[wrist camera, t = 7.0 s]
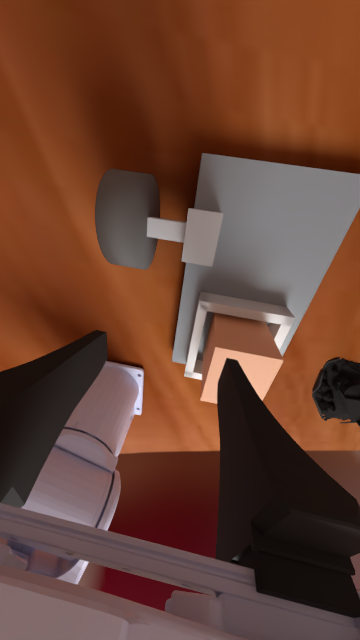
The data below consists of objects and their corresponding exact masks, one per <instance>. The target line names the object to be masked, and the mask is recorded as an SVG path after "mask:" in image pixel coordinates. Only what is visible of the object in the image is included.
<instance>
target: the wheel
mask: <svg viewBox="0 0 360 640" xmlns="http://www.w3.org/2000/svg"><path fill="white" fill-rule="evenodd" d="M186 223H187V222H182V221H176V220H170V219H163V218H160V200H159V191H158V185H157V182H156V179H155V177H154V176H153V175H152V174H146V173H140V172H133V171H126V170H119V169H109V170H108V171H107V172H106V173H105V174H104V175H103V177H102V179H101V181H100V184H99V187H98V191H97V196H96V205H95V224H96V232H97V238H98V242H99V246H100V249H101V251H102V253H103V255H104V257H105V258H106V260H107V261H108V262H109V263H111V264H115V265H121V266H127V267H132V268H138V269H144V270H145V269H147V268H148V267H149V266H150V264H151V262H152V260H153V257H154V254H155V250H156V246H157V241H158V239H164V240H171V241H177V242H183V243H184V238H185V230H186Z"/></svg>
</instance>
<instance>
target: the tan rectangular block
mask: <svg viewBox="0 0 360 640" xmlns="http://www.w3.org/2000/svg"><path fill="white" fill-rule="evenodd" d="M226 358H230V359H235V360H238V362H239V364H240V366H241V367H242V369H243V371H244V373H245V374H246V376H247V378H248V380H249V381H250V383H251V385H252V386H253V388H254V389H255V391H256V393H257V394H258V396H259V397H260V399H261V400H263V398H264V397H265V395H266V393H267V391H268V389H269V387H270V385H271V383H272V382H273V380H274V378H275V376H276V374H277V372H278V370H279V368H280V367H281V365H282V363H283V361H284V360H283V358H282V355H281V353H280V351H279V349H278V347H277V345H276V343H275V341H274V339H273V336H272V334H271V332H270V330H269V328H268V326H267V324H266V322H264V321H259V320H254V319H248V318H243V317H237V316H232V315H226V314H221V313H215V312H213V316H212V320H211V324H210V328H209V332H208V336H207V340H206V344H205V348H204V353H203V367H202V383H201V399H200V400H201V401H206V402H211V403H216V404H217V388H218V380H219V378H220V375H221V372H222V369H223V367H224V364H225V361H226Z"/></svg>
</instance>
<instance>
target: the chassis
mask: <svg viewBox="0 0 360 640" xmlns="http://www.w3.org/2000/svg"><path fill="white" fill-rule="evenodd" d="M359 208H360V174H354V173H347V172H340V171H332V170H325V169H317V168H310V167H303V166H295V165H288V164H281V163H273V162H266V161H258V160H251V159H244V158H236V157H229V156H222V155H214V154H207V153H202V157H201V164H200V171H199V178H198V185H197V192H196V199H195V206H194V208H188V215H187V223H186V230H185V238H184V245H183V253H182V261H181V262H186V267H185V274H184V281H183V288H182V295H181V302H180V309H179V316H178V322H177V329H176V336H175V343H174V350H173V357H172V361H173V362H178V363H183V364H186V368H185V374H184V376H185V377H190V378H195V379H200V380H202V367H203V353H204V348H205V344H206V340H207V336H208V332H209V328H210V324H211V320H212V316H213V312H215V313H221V314H226V315H232V316H237V317H243V318H248V319H254V320H259V321H264V322H266V324H267V326H268V328H269V330H270V332H271V334H272V336H273V339H274V341H275V343H276V345H277V347H278V349H279V351H280V353H281V355H282V356H283V354H284V352H285V350H286V348H287V346H288V344H289V342H290V341H291V339H292V337H293V335H294V333H295V331H296V329H297V327H298V325H299V323H300V321H301V319H302V317H303V316H304V314H305V312H306V310H307V308H308V306H309V304H310V302H311V300H312V298H313V296H314V294H315V292H316V291H317V289H318V287H319V285H320V283H321V281H322V279H323V277H324V275H325V273H326V271H327V269H328V267H329V266H330V264H331V262H332V260H333V258H334V256H335V254H336V252H337V250H338V248H339V246H340V244H341V242H342V241H343V239H344V237H345V235H346V233H347V231H348V229H349V227H350V225H351V223H352V221H353V219H354V217H355V216H356V214H357V212H358V210H359Z"/></svg>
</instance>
